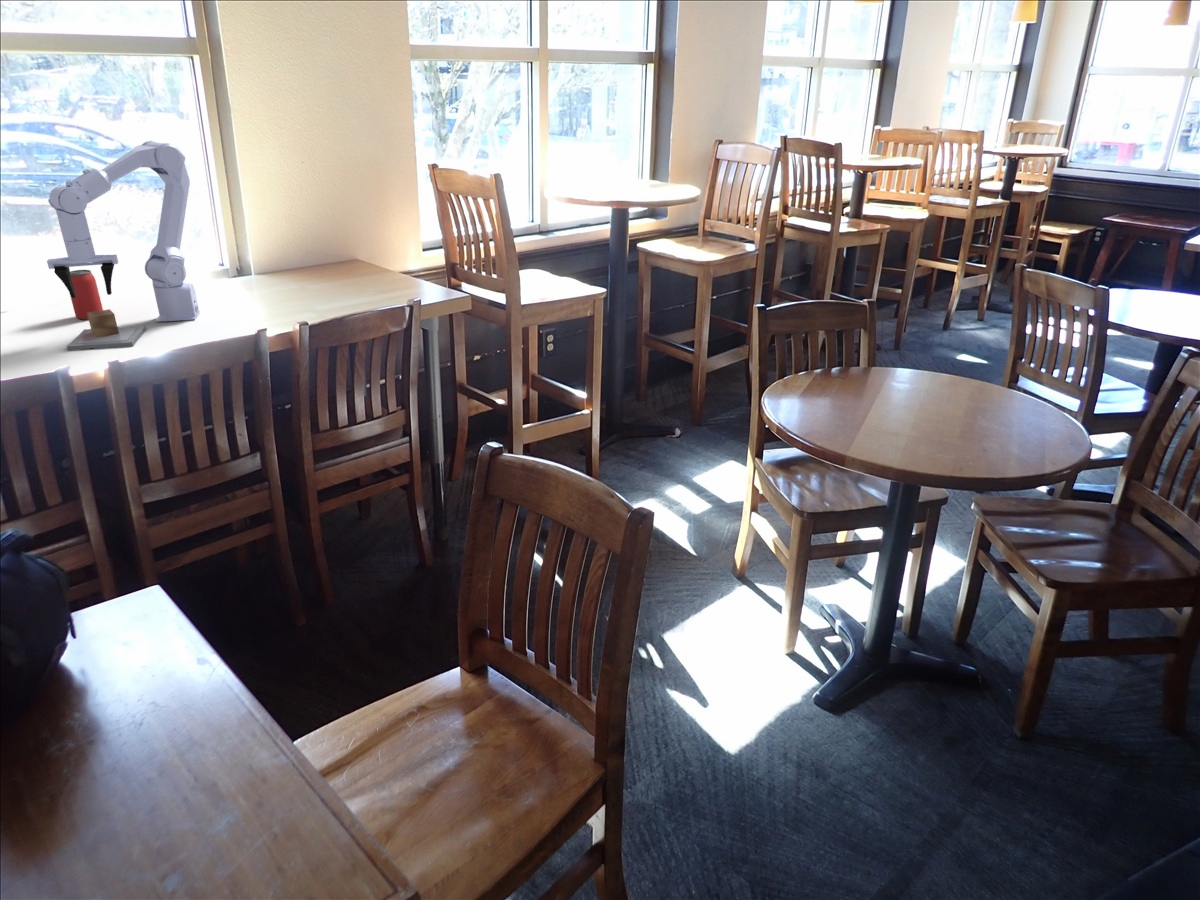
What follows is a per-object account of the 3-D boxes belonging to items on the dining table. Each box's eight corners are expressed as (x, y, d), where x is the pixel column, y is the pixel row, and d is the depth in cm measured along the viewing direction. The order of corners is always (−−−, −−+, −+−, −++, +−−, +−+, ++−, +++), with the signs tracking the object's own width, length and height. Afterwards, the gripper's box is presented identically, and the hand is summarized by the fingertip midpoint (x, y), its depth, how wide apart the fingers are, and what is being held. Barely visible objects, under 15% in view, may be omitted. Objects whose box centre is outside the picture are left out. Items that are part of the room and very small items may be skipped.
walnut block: (114, 328, 209) (109, 309, 207) (119, 333, 206) (114, 313, 203) (92, 332, 206) (86, 312, 204) (96, 337, 203) (91, 317, 201)
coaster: (146, 329, 212) (145, 325, 212) (133, 346, 200) (132, 341, 200) (85, 333, 209) (84, 329, 209) (68, 350, 197) (66, 345, 196)
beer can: (77, 315, 224) (65, 270, 219) (105, 312, 227) (94, 268, 221) (75, 321, 219) (62, 275, 213) (103, 318, 221) (92, 273, 216)
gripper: (113, 234, 205) (126, 288, 210) (45, 238, 199) (60, 294, 205) (110, 239, 199) (124, 295, 204) (40, 243, 194) (55, 301, 199)
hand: (91, 295), depth 204 cm, fingers open, 7 cm apart
